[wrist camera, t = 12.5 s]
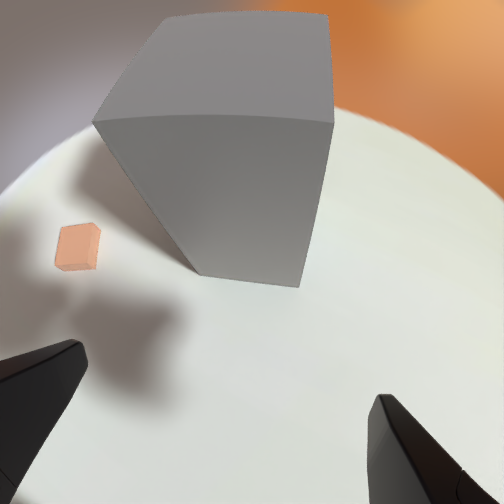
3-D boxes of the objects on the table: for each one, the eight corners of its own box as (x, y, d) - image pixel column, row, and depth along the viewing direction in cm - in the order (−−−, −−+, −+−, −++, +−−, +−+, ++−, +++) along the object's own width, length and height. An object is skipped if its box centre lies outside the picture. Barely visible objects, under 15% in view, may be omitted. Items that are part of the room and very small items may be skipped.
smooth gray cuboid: (298, 287, 18) (334, 123, 6) (199, 275, 19) (91, 121, 7) (307, 199, 20) (327, 15, 8) (218, 191, 21) (166, 17, 9)
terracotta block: (97, 270, 20) (86, 263, 18) (65, 272, 20) (54, 265, 19) (103, 232, 21) (93, 222, 20) (72, 235, 21) (61, 227, 20)
